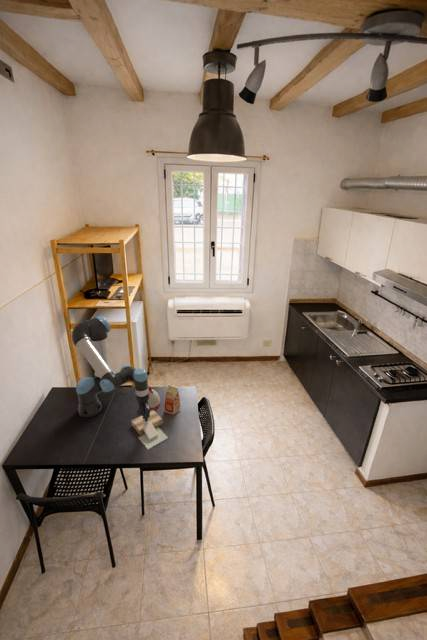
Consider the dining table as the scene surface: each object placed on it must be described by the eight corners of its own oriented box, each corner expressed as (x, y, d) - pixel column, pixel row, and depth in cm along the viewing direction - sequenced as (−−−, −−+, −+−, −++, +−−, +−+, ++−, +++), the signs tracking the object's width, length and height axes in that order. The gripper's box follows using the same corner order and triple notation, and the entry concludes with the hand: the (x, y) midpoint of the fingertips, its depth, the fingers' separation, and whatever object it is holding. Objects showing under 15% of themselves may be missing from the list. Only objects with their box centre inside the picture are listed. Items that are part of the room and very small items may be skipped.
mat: (138, 438, 191) (138, 437, 191) (158, 427, 199) (158, 426, 199) (147, 449, 182) (147, 449, 182) (168, 438, 191) (168, 437, 190)
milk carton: (163, 411, 213) (161, 387, 204) (170, 403, 220) (168, 379, 212) (175, 415, 209) (174, 390, 201) (182, 406, 217) (180, 382, 209)
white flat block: (142, 427, 192) (142, 426, 191) (150, 423, 196) (151, 422, 194) (149, 440, 188) (149, 439, 187) (157, 435, 192) (158, 434, 190)
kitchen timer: (151, 395, 229) (149, 378, 223) (164, 402, 222) (163, 384, 215) (136, 405, 219) (134, 387, 213) (150, 413, 211) (148, 395, 205)
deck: (131, 425, 201) (131, 420, 199) (153, 414, 210) (153, 409, 208) (140, 435, 192) (140, 430, 191) (163, 424, 202) (162, 419, 200)
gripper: (131, 390, 187) (135, 421, 196) (141, 401, 178) (145, 433, 187) (142, 385, 191) (146, 416, 201) (153, 396, 182) (156, 427, 192)
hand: (146, 424), depth 194 cm, fingers closed
